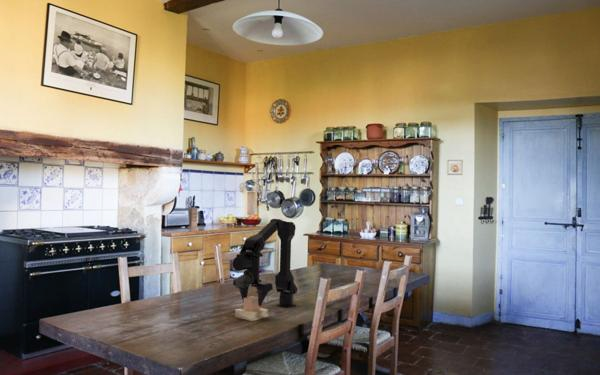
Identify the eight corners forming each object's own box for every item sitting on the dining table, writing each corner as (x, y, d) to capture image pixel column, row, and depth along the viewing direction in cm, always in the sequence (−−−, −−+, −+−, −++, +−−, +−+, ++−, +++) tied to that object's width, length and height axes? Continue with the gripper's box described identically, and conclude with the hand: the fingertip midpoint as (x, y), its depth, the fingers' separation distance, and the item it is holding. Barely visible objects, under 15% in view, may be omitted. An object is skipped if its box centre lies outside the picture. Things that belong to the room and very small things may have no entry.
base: (251, 312, 213) (251, 305, 213) (268, 316, 207) (268, 309, 207) (235, 316, 205) (235, 309, 205) (251, 321, 199) (251, 313, 199)
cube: (251, 307, 210) (252, 296, 210) (260, 309, 206) (260, 297, 207) (243, 309, 206) (243, 297, 206) (251, 311, 203) (251, 299, 203)
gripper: (224, 267, 206) (223, 303, 206) (255, 273, 194) (254, 311, 194) (243, 264, 215) (242, 299, 215) (273, 269, 203) (272, 307, 203)
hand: (252, 304), depth 206 cm, fingers open, 9 cm apart
